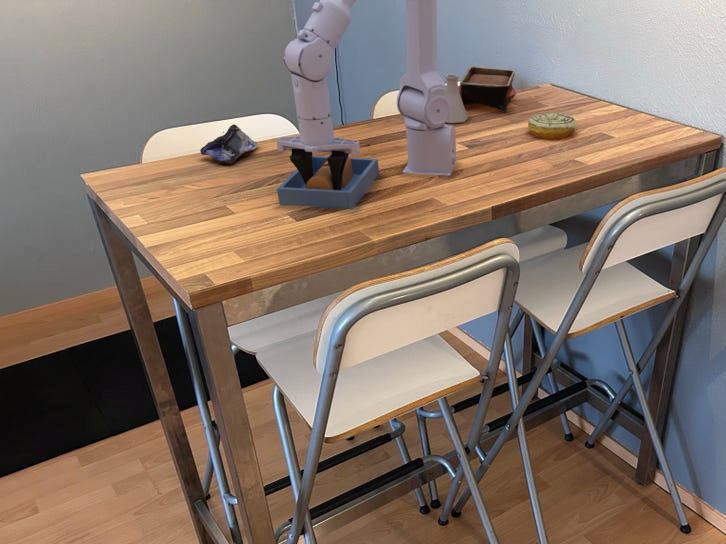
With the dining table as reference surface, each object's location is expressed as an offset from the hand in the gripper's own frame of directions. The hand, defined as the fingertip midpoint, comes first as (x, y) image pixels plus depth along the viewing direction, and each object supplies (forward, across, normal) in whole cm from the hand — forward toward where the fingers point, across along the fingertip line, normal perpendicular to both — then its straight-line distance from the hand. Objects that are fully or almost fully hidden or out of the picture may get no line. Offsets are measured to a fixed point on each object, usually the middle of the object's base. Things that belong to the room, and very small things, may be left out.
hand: (324, 190), depth 134 cm
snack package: (+2, -27, +19) cm, 33 cm away
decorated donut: (+2, +38, +44) cm, 58 cm away
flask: (+2, +14, +51) cm, 53 cm away
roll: (+1, 0, +7) cm, 7 cm away
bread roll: (+1, 0, 0) cm, 1 cm away
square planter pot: (+2, +20, +64) cm, 67 cm away
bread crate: (+2, 0, +4) cm, 4 cm away
